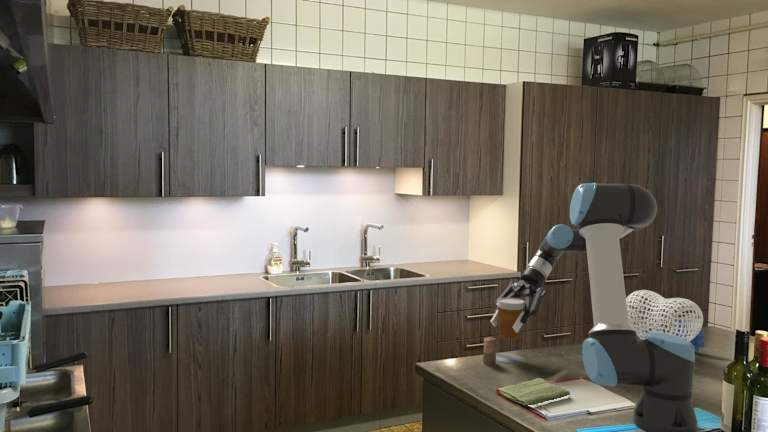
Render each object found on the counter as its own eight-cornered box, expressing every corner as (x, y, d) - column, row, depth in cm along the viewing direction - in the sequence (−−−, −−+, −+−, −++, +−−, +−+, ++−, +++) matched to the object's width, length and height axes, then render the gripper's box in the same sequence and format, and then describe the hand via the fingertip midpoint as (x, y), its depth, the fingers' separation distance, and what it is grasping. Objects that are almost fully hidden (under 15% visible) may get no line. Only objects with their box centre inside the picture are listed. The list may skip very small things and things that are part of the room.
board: (509, 376, 203) (509, 372, 203) (474, 367, 211) (475, 363, 211) (539, 361, 219) (539, 357, 218) (505, 353, 226) (506, 350, 226)
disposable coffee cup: (491, 337, 214) (492, 301, 213) (500, 330, 223) (501, 296, 222) (519, 342, 210) (521, 305, 209) (527, 335, 218) (529, 299, 217)
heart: (611, 349, 235) (614, 288, 233) (640, 344, 243) (644, 285, 241) (679, 372, 211) (684, 304, 209) (710, 366, 218) (714, 300, 216)
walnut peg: (491, 366, 208) (492, 341, 208) (480, 363, 211) (481, 339, 210) (498, 363, 211) (499, 339, 211) (487, 360, 214) (488, 336, 213)
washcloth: (495, 396, 187) (495, 385, 187) (540, 386, 196) (540, 375, 196) (527, 411, 176) (528, 400, 176) (573, 400, 185) (574, 389, 185)
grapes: (665, 350, 236) (667, 317, 235) (672, 346, 241) (675, 314, 240) (699, 357, 228) (701, 323, 227) (706, 354, 233) (708, 320, 232)
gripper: (567, 285, 217) (534, 341, 208) (515, 275, 233) (483, 326, 224) (558, 271, 213) (525, 327, 204) (506, 262, 229) (474, 313, 220)
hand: (503, 326), depth 214 cm, fingers closed on disposable coffee cup, 8 cm apart
